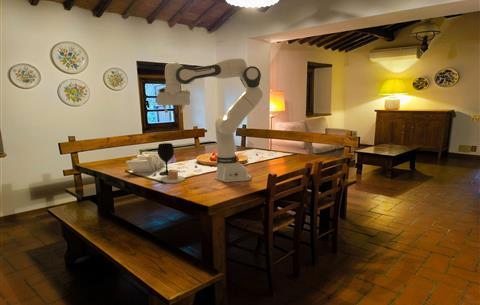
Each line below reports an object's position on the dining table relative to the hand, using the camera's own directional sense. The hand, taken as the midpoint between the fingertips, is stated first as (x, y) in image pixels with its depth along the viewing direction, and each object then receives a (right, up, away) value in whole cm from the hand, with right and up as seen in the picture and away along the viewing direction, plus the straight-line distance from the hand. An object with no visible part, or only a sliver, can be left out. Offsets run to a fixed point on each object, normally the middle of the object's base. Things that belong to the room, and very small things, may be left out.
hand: (174, 112), depth 192 cm
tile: (0, -42, 0) cm, 42 cm away
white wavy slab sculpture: (-25, -37, +30) cm, 54 cm away
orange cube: (0, -41, 0) cm, 41 cm away
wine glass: (-8, -39, +15) cm, 43 cm away
